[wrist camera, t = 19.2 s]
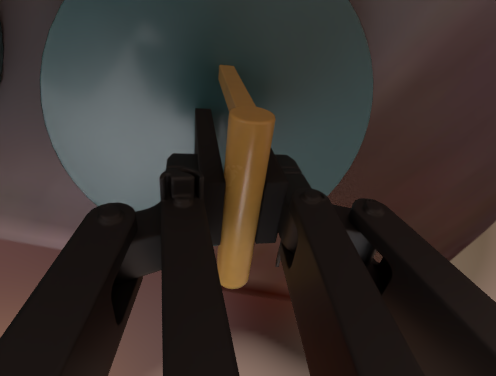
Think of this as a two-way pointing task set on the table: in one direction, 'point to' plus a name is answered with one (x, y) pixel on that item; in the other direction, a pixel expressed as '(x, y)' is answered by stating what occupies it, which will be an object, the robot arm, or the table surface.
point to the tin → (1, 52)
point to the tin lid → (205, 98)
